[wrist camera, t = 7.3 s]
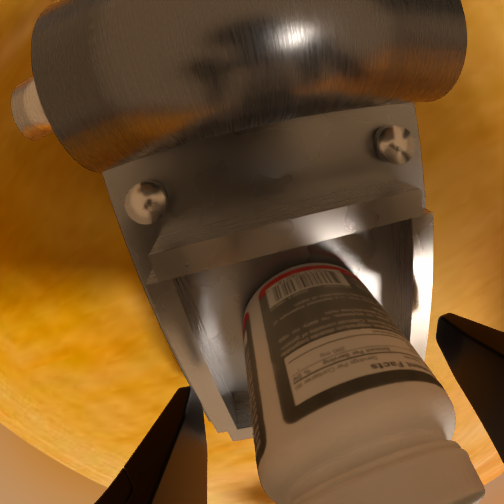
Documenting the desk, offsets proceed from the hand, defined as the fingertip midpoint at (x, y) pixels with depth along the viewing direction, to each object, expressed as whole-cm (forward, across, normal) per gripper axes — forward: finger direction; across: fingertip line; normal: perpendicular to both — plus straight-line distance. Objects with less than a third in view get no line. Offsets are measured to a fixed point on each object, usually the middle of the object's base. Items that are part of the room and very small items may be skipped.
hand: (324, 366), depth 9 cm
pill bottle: (+3, 0, 0) cm, 3 cm away
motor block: (+5, 0, -4) cm, 6 cm away
